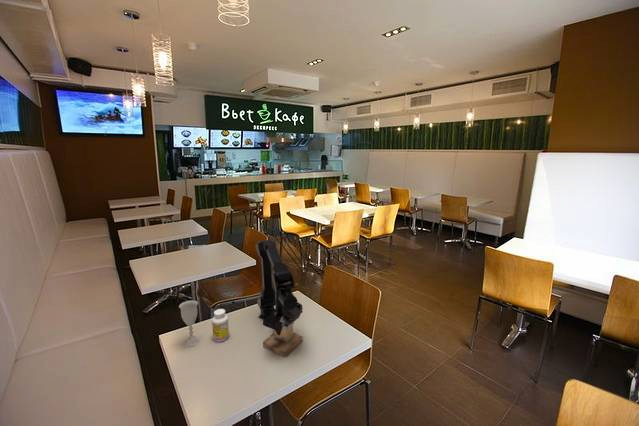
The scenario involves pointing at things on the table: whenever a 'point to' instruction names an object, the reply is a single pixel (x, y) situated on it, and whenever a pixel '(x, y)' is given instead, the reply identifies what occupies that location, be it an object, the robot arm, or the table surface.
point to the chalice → (189, 319)
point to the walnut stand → (282, 344)
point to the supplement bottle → (220, 325)
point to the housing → (285, 330)
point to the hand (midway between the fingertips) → (282, 331)
